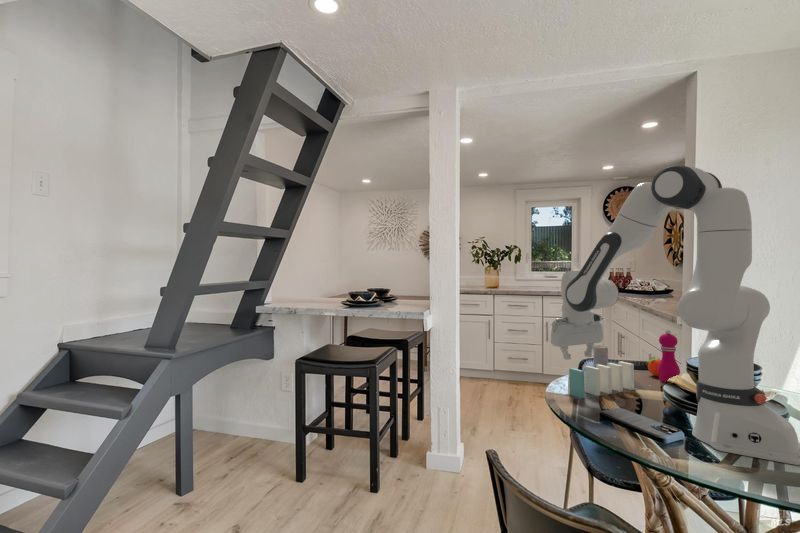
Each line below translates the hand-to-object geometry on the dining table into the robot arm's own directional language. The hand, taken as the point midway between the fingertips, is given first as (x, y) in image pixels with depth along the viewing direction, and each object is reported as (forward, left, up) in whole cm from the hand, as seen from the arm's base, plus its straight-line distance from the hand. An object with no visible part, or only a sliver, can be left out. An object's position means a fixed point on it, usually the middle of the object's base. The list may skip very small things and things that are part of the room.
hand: (577, 357), depth 141 cm
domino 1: (+1, 0, -13) cm, 13 cm away
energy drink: (+5, -35, -14) cm, 38 cm away
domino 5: (-8, -22, -13) cm, 27 cm away
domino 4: (-6, -17, -13) cm, 22 cm away
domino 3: (-4, -12, -13) cm, 18 cm away
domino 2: (-2, -7, -13) cm, 15 cm away
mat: (-4, -11, -14) cm, 18 cm away
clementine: (-11, -50, -14) cm, 53 cm away
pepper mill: (-17, -43, -14) cm, 48 cm away
